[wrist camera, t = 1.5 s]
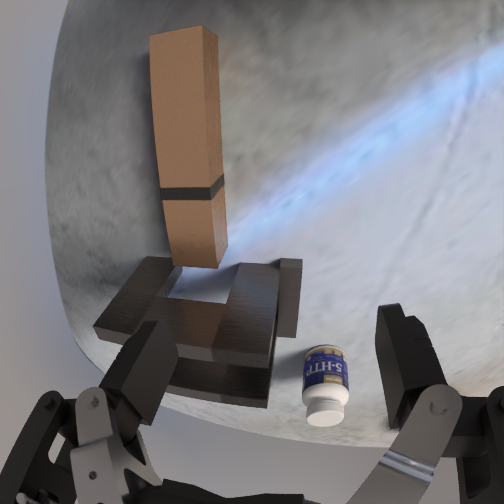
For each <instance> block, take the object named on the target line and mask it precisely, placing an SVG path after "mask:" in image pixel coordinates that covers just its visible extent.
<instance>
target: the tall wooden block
mask: <svg viewBox="0 0 504 504" xmlns="http://www.w3.org/2000/svg"><path fill="white" fill-rule="evenodd" d="M149 46H150V77H151V96H152V110H153V123H154V134H155V144H156V154H157V163H158V171H159V179H160V187H161V188H160V192H161V199H162V201H163V208H164V214H165V221H166V227H167V233H168V239H169V245H170V250H171V256H172V261H173V266H186V267H199V268H212V269H218V267H219V264H220V262H221V260H222V258H223V256H224V254H225V251H226V249H227V247H228V237H227V222H226V207H225V191H224V173H223V156H222V136H221V115H220V90H219V61H218V36H217V35H216V34H214V33H213V32H211V31H210V30H208V29H207V28H205V27H204V26H196V27H190V28H184V29H179V30H174V31H169V32H164V33H160V34H156V35H151V36H149Z"/></svg>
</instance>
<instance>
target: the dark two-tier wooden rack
mask: <svg viewBox="0 0 504 504" xmlns="http://www.w3.org/2000/svg"><path fill="white" fill-rule="evenodd" d="M182 271H183V270H182V266H173V261H172V258H164V257H150V256H147V257H146V259H145V260H144V261H143V262H142V263H141V265H140V266H139V267H138V268H137V270H136V271H135V272H134V273H133V274H132V276H131V277H130V278H129V279H128V281H127V282H126V283H125V284H124V286H123V287H122V288H121V290H120V291H119V292H118V293H117V295H116V296H115V297H114V298H113V300H112V301H111V302H110V304H109V305H108V306H107V308H106V309H105V310H104V312H103V313H102V314H101V316H100V317H99V318H98V320H97V321H96V322H95V324H94V325H93V328H94V330H95V332H96V334H97V336H98V338H99V339H101V340H105V341H109V342H113V343H117V344H121V345H124V343H125V342H126V340H128V339H129V338H130V337H131V336H132V335H133V334H134V333H137V331H138V330H139V328H140V326H141V325H142V323H143V322H144V321H158V320H161V321H164V322H165V324H166V325H167V327H168V330H169V332H170V334H171V336H172V338H173V340H174V342H175V344H176V346H177V348H178V354H179V357H178V362H177V364H176V367H175V369H174V372H173V374H172V376H171V379H170V381H169V383H168V386H167V388H166V391H165V392H166V393H171V394H175V395H180V396H185V397H190V398H195V399H201V400H206V401H212V402H218V403H225V404H232V405H239V406H247V407H256V408H266V409H267V405H268V398H269V391H270V384H271V377H272V370H273V362H274V355H275V347H276V339H277V337H288V338H296V330H297V321H298V311H299V301H300V290H301V279H302V259H286V258H281V263H280V265H272V264H256V263H240V265H239V268H238V271H237V274H236V277H235V279H234V282H233V285H232V288H231V291H230V294H229V297H228V300H227V303H226V304H222V303H212V302H202V301H193V300H184V299H175V298H167V296H168V294H169V293H170V291H171V289H172V288H173V286H174V284H175V283H176V281H177V279H178V278H179V276H180V275H181V273H182ZM278 294H279V307H278V312H276V309H277V301H278Z"/></svg>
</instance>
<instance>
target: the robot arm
mask: <svg viewBox="0 0 504 504" xmlns="http://www.w3.org/2000/svg"><path fill="white" fill-rule="evenodd" d="M375 349H376V355H377V360H378V364H379V369H380V374H381V379H382V384H383V389H384V395H385V400H386V406H387V412H388V418H389V425H390V429H394V428H399V430H400V432H399V434H398V436H397V437H396V439H395V440H394V442H393V444H392V445H391V447H390V448H389V450H388V451H387V452H386V454H385V455H384V456H383V457H382V458H381V460H380V461H379V462H378V464H377V465H376V467H375V468H374V469H373V471H372V472H371V473H370V475H369V476H368V478H367V479H366V480H365V481H364V483H363V484H362V485H361V486H360V488H359V489H358V490H357V491H356V493H355V494H354V495H353V496H352V497H351V499H350V500H349V501H348V502H347V503H346V504H418V503H419V501H420V500H421V498H422V496H423V495H424V493H425V491H426V490H427V488H428V486H429V485H430V483H431V481H432V478H433V475H434V474H433V472H434V470H435V467H436V465H437V464H438V462H439V460H440V458H441V457H456V463H457V471H458V481H459V493H460V504H504V386H500V387H498V388H496V389H494V390H493V391H492V392H491V394H490V395H489V396H488V397H466V396H462V395H460V394H459V393H458V391H457V390H455V389H454V388H453V387H451V386H449V385H448V384H447V382H446V380H445V377H444V374H443V371H442V368H441V366H440V363H439V360H438V358H437V355H436V353H435V350H434V348H433V347H432V343H431V340H430V338H429V336H428V333H427V331H426V328H425V326H424V324H423V323H422V322H421V321H420V320H418V319H417V318H416V317H415V316H408V317H405V315H404V312H403V310H402V307H401V305H400V304H399V303H396V304H389V305H382V306H379V307H378V312H377V324H376V334H375ZM178 357H179V354H178V348H177V346H176V344H175V342H174V340H173V338H172V336H171V334H170V332H169V330H168V327H167V325H166V324H165V322H164V321H161V320H158V321H144V322H143V323H142V325H141V326H140V328H139V330H138V331H137V333H134V334H133V335H132V336H131V337H130V338H129V339H128V340H126V342H125V343H124V345H123V347H122V348H121V350H120V352H119V353H118V355H117V356H116V360H114V361H113V363H112V365H111V366H110V368H109V370H108V371H107V373H106V375H105V376H104V378H103V380H102V381H101V383H100V385H99V387H91V388H88V389H86V390H84V391H83V392H82V393H81V394H80V395H79V396H78V398H77V399H64V398H63V397H62V396H61V395H60V393H59V392H57V391H49V392H47V393H45V394H43V395H42V396H41V398H40V399H39V400H38V402H37V404H36V406H35V407H34V409H33V411H32V413H31V414H30V416H29V418H28V420H27V422H26V423H25V425H24V427H23V429H22V431H21V433H20V435H19V437H18V438H17V440H16V442H15V445H14V446H13V448H12V450H11V452H10V454H9V456H8V459H7V461H6V463H5V465H4V467H3V469H2V472H1V474H0V504H74V503H75V500H76V498H77V499H78V503H79V504H320V503H317V502H313V501H309V500H305V499H304V495H303V494H267V493H265V494H259V495H252V496H244V497H235V498H225V497H222V496H219V495H217V494H214V493H212V492H209V491H207V490H204V489H202V488H200V487H197V486H195V485H191V484H186V483H181V482H177V481H172V480H168V479H163V482H162V481H161V479H160V478H159V476H158V475H157V474H156V473H155V471H154V469H153V467H152V465H151V462H150V459H149V457H148V454H147V451H146V448H145V445H144V442H143V439H142V436H141V433H140V431H139V430H138V427H139V425H140V424H144V425H149V426H151V424H152V422H153V420H154V417H155V415H156V412H157V410H158V407H159V405H160V403H161V400H162V398H163V395H164V393H165V391H166V388H167V386H168V383H169V381H170V379H171V376H172V374H173V372H174V369H175V367H176V364H177V362H178ZM57 433H59V434H60V435H62V436H63V437H64V438H65V441H64V444H63V446H62V448H61V450H60V452H59V455H58V457H57V459H56V461H55V463H54V464H53V463H52V462H51V461H50V460H49V457H48V452H49V450H50V447H51V445H52V443H53V441H54V439H55V437H56V435H57Z"/></svg>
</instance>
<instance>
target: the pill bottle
mask: <svg viewBox="0 0 504 504" xmlns="http://www.w3.org/2000/svg"><path fill="white" fill-rule="evenodd" d="M348 398H349V386H348V372H347V359H346V354H345V352H344V351H343V350H342V349H340V348H338V347H336V346H331V345H324V346H318V347H315V348H313V349H311V350H310V351H309V352H308V353H307V354H306V356H305V358H304V372H303V388H302V401H303V403H304V405H305V406H306V407H308V408H307V412H306V420H307V422H308V423H309V424H311V425H314V426H319V427H327V426H333V425H336V424H338V423H340V422H341V421H342V420H343V418H344V409H343V408H344V407H343V405H344V404H345V403H346V402H347V401H348Z"/></svg>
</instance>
